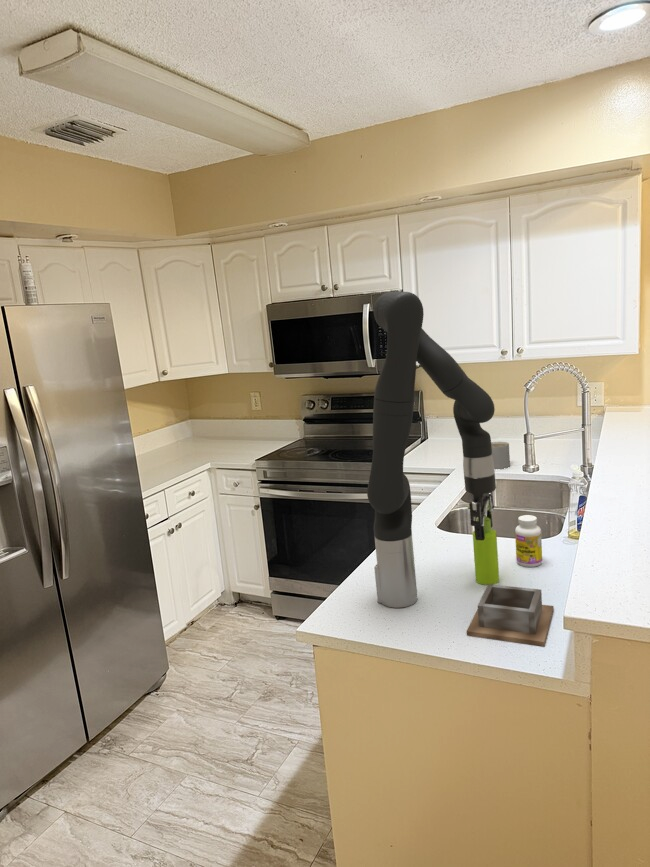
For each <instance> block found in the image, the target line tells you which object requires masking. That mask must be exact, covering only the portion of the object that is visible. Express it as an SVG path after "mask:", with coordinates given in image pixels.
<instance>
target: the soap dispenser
mask: <svg viewBox="0 0 650 867" xmlns="http://www.w3.org/2000/svg"><path fill="white" fill-rule="evenodd" d="M466 508H467V510H470V506H467V507H466ZM489 509H490V507H487V510H489ZM476 521H479V520H478V518H476ZM484 532H485V539H484V540H476V538H475V530H473V531H472V544H473V558H474V560H473V561H474V571H475V572H474V573H475V582H476V583H478V584H479V585H484V586H487V585H488V584H492V585H497V584H498V583H499V582H500V571H499V569H500V568H499V554H498V539H497V538H498V537H497V536H498V535H497V531H496V530H495V529H492V528H491V520H490V518H488V517H487V516H486V518H484Z"/></svg>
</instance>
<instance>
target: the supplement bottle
mask: <svg viewBox="0 0 650 867" xmlns="http://www.w3.org/2000/svg"><path fill="white" fill-rule="evenodd" d="M517 520H518V524H519V525H517V526H516V527H515V530H514V536H515V557H516V563H517V564H518V565H519V566H523V567H527V568H534V567H538V566H540V565H542V562H543V546H542V544H543V543H542V529H541V527H540V526H539V525H537V523H538V518H537V517H536V516H534V515H531V514H530V515H529V514H525V515H520V516H519V517H518V518H517Z"/></svg>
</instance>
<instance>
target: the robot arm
mask: <svg viewBox="0 0 650 867" xmlns="http://www.w3.org/2000/svg"><path fill="white" fill-rule="evenodd" d="M373 318H374V321H376V322H375V323H376V324H377V325H378V326H379V327H380V328H381V329H382V330H384V332H386V335H387V339H386V340H387V341H386V355H385V360H384V363H383V366H382V369H381V371H380V373H379V376H378V378H377V381H376V385H375V389H374V392H373V393H374V397H373V412H372V414H373V415H372V418H373V419H372V460H371V466H370V467H371V468H370V473H369V480H368V484H367V491H366V495H367V499H368V502H369V504H370V506H371V507H372V508H373V509H374V522H373V537H374V544H375V554H376V555H375V556H376V564H375V566H374V577H375V578H374V579H375V589H376V596H377V597H376V598H377V603H379V604H383V605H384V606H385V607H389V608H397V609H398V608H406V607H411V606H412V605H414V604H415V603H416V602H417V601H418V589H417V587H418V586H417V577H416V575H417V574H416V567H415V566H416V565H415V554H414V542H413V541H414V540H413V531H412V530H413V528H412V525H413V524H412V523H413V522H412V521H413V510H412V509H413V507H412V494H411V493H412V492H411V485H410V482H409V479H408V477H407V476H406V474H405V473H404V459H405V452H406V449H407V445H408V441H409V437H410V433H411V429H412V423H413V418H414V417H413V416H414V406H415V405H414V404H415V389H416V388H415V385H416V375H417V363H418V364H419V366H420V367H421V368H422V369H423V370H424V371H425V373H426V374H427V375H428V377H429V378H430V379H431V380H432V382H433V383H434V385H436V387H437V388H438V389H439V390H440V391H441V392H442V394H443V395H444V396H445V397H447V398H448V399H452V400H453V401H454V403H453V407H452V412H453V418H454V421H455V424H456V428H457V430H458V433H459V436H460V438H461V444H462V448H461V449H462V457H463V459H462V461H463V462H462V468H463V469H462V470H463V479H464V489H465V491H466V493H468V494H471V495H472V496H473V497H472V499H471V502H469V503H468V505H469V506H470V509H469V516H470V518H469V519H470V526H471V527H474V531H475V538H476V540H484V539H485V532H484V518H486V516H487V517H488V518H490V520H491V529H492V528H493V526H494V525H493V512H494V511H493V509H494V508H495V505H494V495H493V492H494V491H496V489H497V486H496V485H497V483H496V474H495V473H496V471H495V470H494V461H493V456H492V446H491V442H492V438H491V435H490V433H489V432H488V431H487V430H485V429H484V428H483V427H482V426H481V424H483V423H487V422H489V421H490V420H491V419H492V418H493V417H494V415H495V410H496V408H495V403H494V401H493V399H492V396H490V394H489V393H488V392H487V391H485V389H483V388H482V387H481V386H480V385H479V384H478V383H476V382H475V381H474V380H473V379H471V378H469V376H468V375H467V373H466V372H465V371H464V370H463V369H462V367H461V366H460V365H459V363H458V362H457V360H455V359H454V358H453V356H451V354H450V353H449V352H447V350H445V349H444V348H443V347H442V346H440V344H439V343H437V342H436V341H435V340H434V339H433V338H432V337H431V336H430V335H429V334H428V333H427V332H426V331H425V330H424V329H423V323H424V322H423V321H424V307H423V303H422V301H421V299H420V298H419V296H417V295H416V294H415V293H412V292H409V291H388V292H385V293H382V294H381V295H380V296H379V297H377V299H376V300H375V303H374V306H373ZM469 506H468V507H469ZM487 507H490V509H489V510H487ZM477 519H478V520H479V521H477Z"/></svg>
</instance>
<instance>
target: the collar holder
mask: <svg viewBox="0 0 650 867" xmlns="http://www.w3.org/2000/svg"><path fill="white" fill-rule="evenodd" d="M542 598H543V597H542V589H538V588H529V587H518V586H510V585H509V586H508V585H500V584H499V585H498V584H493V585H492V584H488V585H486V588H485V590H484V592H483V593H482V596H481V597H480V600H479V602H478V604H477V609H476V611H475V613H474V615H473V617H472V619H471V621H470V623H469V625H468V627H467V629H466V636H467V637H468V636H469V637H476V638H483V639H489V640H490V639H491V640H497V641H504V642H511V643H518V644H524V645H525V644H526V645H531V646H538V647H545V646H546V645H545V644H546V641H547V638H548V634H549V630H550V627H551V623H552V618H553V613H554V610H555V608H554V605H550V604H549V605H548V604H543V602H542V601H543V600H542Z"/></svg>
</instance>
